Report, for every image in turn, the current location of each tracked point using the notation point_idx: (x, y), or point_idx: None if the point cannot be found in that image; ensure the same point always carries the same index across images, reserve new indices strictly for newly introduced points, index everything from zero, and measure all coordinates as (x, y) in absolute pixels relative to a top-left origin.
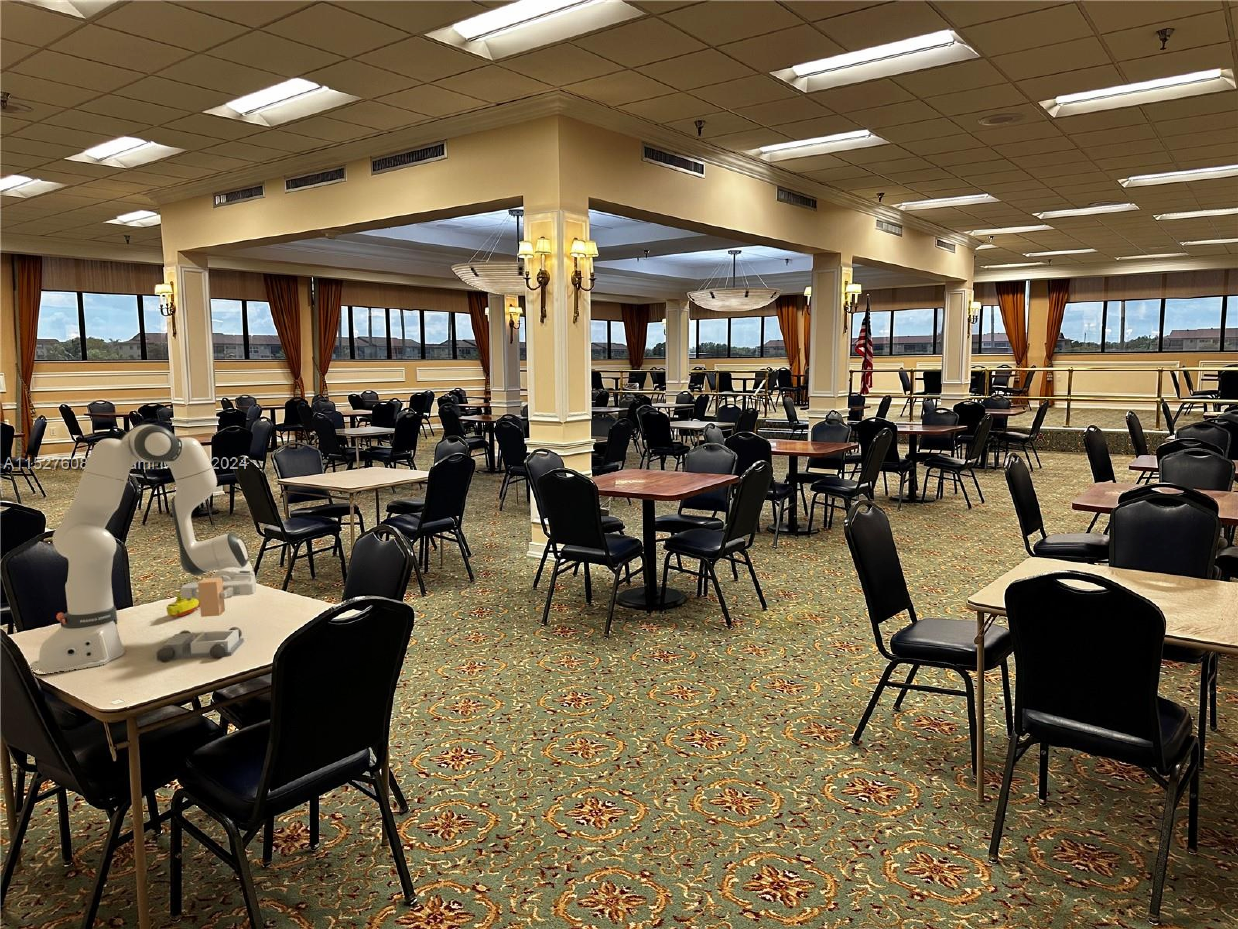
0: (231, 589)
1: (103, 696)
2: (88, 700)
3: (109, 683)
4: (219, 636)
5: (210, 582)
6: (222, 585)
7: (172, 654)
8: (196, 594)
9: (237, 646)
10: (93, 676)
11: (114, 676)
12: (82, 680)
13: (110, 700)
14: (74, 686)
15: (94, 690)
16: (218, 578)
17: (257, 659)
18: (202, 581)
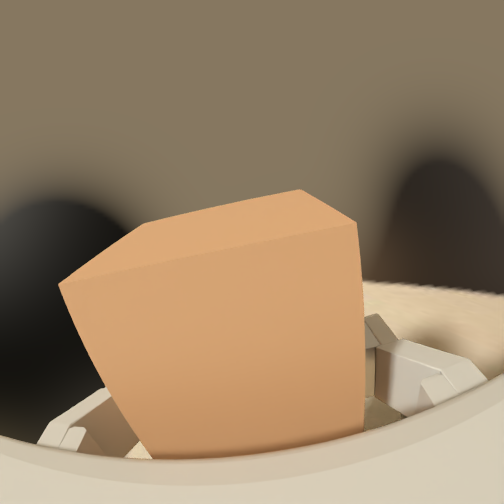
0: (63, 424)
1: (388, 295)
2: (398, 286)
3: (433, 320)
4: None
5: (189, 213)
6: (111, 385)
7: (402, 417)
8: (371, 317)
9: None
10: (500, 328)
11: (460, 339)
12: (497, 315)
13: (363, 291)
14: (479, 301)
15: (428, 302)
16: (109, 257)
17: (139, 443)
18: (282, 200)
